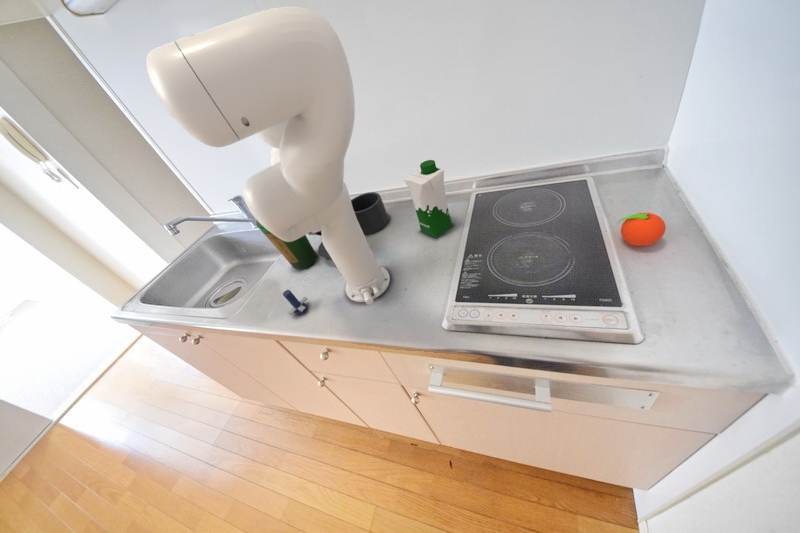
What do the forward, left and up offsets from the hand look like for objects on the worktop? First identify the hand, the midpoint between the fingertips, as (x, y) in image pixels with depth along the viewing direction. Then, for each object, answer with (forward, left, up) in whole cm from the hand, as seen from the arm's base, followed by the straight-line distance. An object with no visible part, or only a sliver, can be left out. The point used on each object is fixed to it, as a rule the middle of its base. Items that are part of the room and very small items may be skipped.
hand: (337, 241), depth 84 cm
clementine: (-46, -59, -5) cm, 75 cm away
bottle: (+6, +13, -5) cm, 15 cm away
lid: (0, 0, -1) cm, 1 cm away
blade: (-16, +16, -5) cm, 24 cm away
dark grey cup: (+9, -13, -5) cm, 17 cm away
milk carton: (-10, -29, -5) cm, 31 cm away
